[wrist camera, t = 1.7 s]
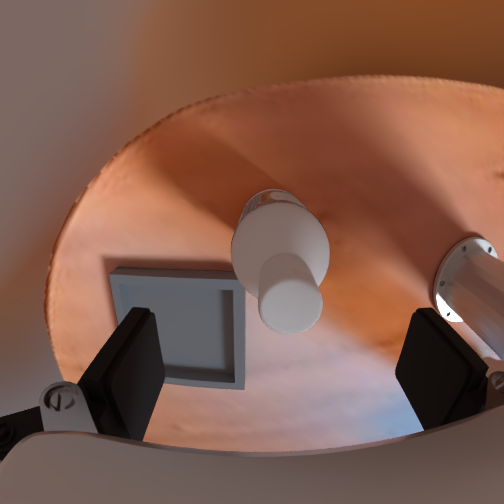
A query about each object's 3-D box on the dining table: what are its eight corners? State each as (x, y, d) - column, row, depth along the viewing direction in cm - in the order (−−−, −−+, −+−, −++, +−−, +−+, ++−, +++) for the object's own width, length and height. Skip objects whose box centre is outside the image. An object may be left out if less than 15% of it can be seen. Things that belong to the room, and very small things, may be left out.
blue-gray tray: (245, 271, 34) (244, 280, 31) (245, 377, 38) (244, 389, 36) (117, 267, 34) (108, 274, 32) (137, 367, 39) (131, 378, 36)
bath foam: (316, 204, 31) (393, 271, 12) (288, 260, 33) (318, 383, 14) (257, 177, 31) (251, 202, 11) (231, 235, 33) (191, 338, 13)
